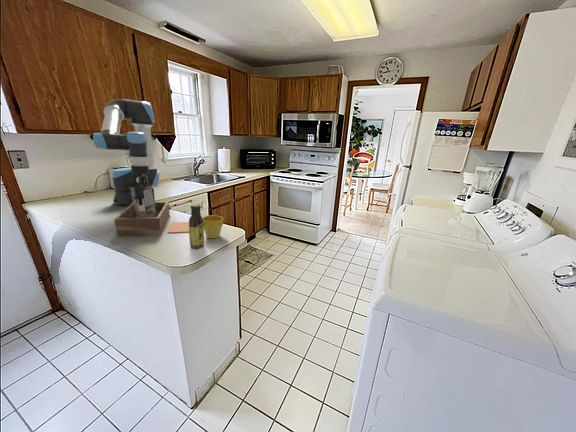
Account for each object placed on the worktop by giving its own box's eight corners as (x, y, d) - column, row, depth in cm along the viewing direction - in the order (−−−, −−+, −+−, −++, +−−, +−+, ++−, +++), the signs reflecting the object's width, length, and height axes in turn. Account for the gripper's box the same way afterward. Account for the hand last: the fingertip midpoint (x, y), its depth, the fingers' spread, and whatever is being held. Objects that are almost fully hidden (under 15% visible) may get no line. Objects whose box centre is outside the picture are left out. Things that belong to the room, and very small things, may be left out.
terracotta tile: (171, 223, 133) (171, 222, 133) (198, 222, 137) (198, 221, 137) (167, 233, 121) (167, 232, 120) (196, 232, 125) (196, 231, 125)
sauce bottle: (202, 249, 107) (200, 208, 101) (188, 249, 106) (185, 207, 100) (205, 243, 113) (204, 203, 107) (192, 243, 113) (190, 203, 106)
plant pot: (212, 230, 128) (212, 213, 125) (227, 235, 124) (227, 217, 121) (197, 237, 119) (196, 218, 116) (213, 242, 115) (213, 223, 112)
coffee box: (157, 217, 128) (154, 188, 123) (146, 220, 122) (143, 190, 117) (144, 213, 131) (141, 185, 125) (133, 217, 125) (129, 187, 120)
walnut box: (134, 216, 138) (132, 202, 135) (169, 216, 143) (168, 202, 140) (117, 236, 112) (114, 219, 109) (160, 235, 118) (159, 218, 115)
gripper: (137, 161, 126) (142, 201, 134) (123, 168, 106) (129, 214, 113) (153, 162, 129) (157, 201, 136) (142, 168, 108) (147, 214, 116)
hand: (144, 207), depth 125 cm, fingers closed on coffee box, 10 cm apart
